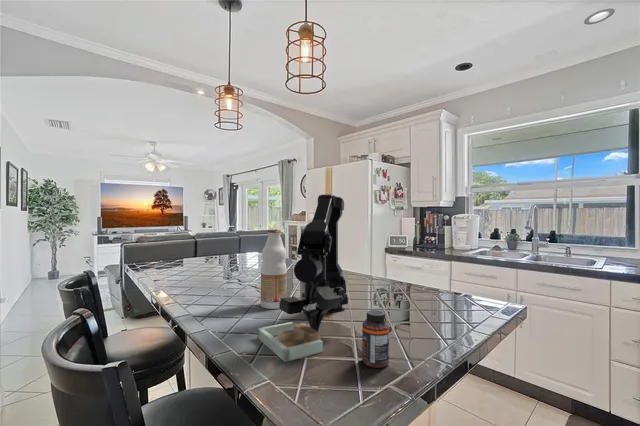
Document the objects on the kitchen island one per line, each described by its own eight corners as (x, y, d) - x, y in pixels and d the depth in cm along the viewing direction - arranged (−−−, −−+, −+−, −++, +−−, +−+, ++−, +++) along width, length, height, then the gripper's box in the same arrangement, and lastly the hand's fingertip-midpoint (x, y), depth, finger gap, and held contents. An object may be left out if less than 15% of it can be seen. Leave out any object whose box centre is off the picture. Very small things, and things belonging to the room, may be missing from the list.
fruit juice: (260, 310, 107) (262, 230, 108) (260, 302, 116) (261, 229, 117) (287, 308, 109) (288, 230, 110) (284, 301, 119) (285, 229, 119)
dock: (291, 330, 88) (291, 321, 88) (322, 351, 74) (322, 341, 74) (257, 337, 82) (257, 328, 82) (284, 362, 69) (284, 350, 69)
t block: (302, 333, 86) (302, 323, 86) (320, 345, 78) (320, 333, 78) (273, 340, 81) (273, 328, 81) (288, 353, 73) (288, 340, 73)
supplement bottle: (359, 357, 72) (359, 308, 72) (384, 356, 72) (384, 308, 72) (365, 369, 66) (365, 316, 66) (392, 368, 66) (392, 316, 66)
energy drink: (315, 301, 120) (315, 270, 120) (310, 304, 115) (311, 272, 115) (302, 299, 122) (303, 269, 122) (297, 303, 117) (297, 271, 117)
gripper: (299, 284, 71) (299, 352, 71) (361, 276, 81) (361, 336, 81) (278, 276, 80) (278, 336, 80) (336, 270, 91) (336, 323, 90)
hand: (314, 333), depth 83 cm, fingers closed
